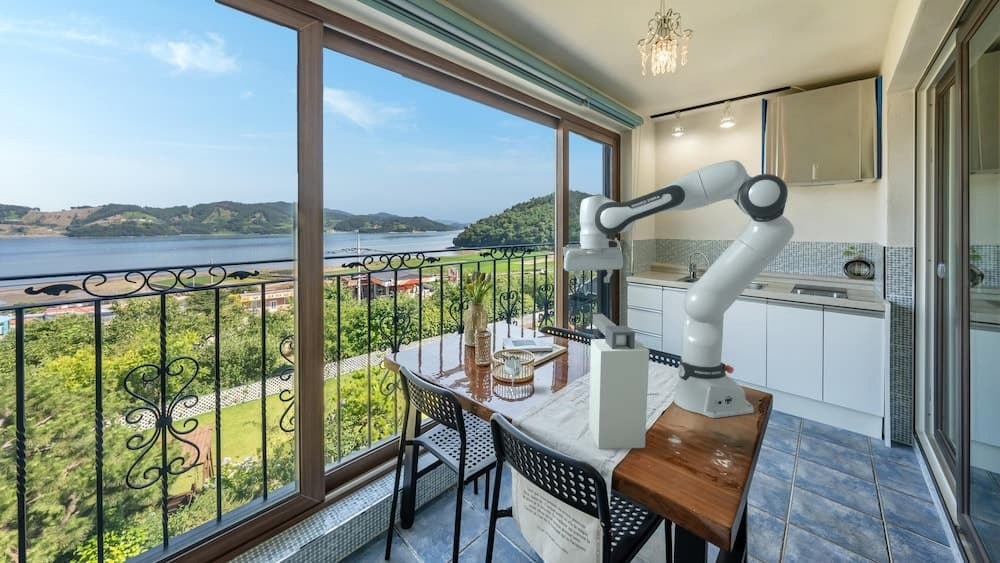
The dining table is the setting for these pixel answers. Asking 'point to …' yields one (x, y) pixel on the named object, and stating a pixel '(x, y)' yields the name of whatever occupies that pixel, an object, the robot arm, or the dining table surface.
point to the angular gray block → (601, 324)
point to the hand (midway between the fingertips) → (593, 283)
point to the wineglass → (512, 370)
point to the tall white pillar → (618, 390)
